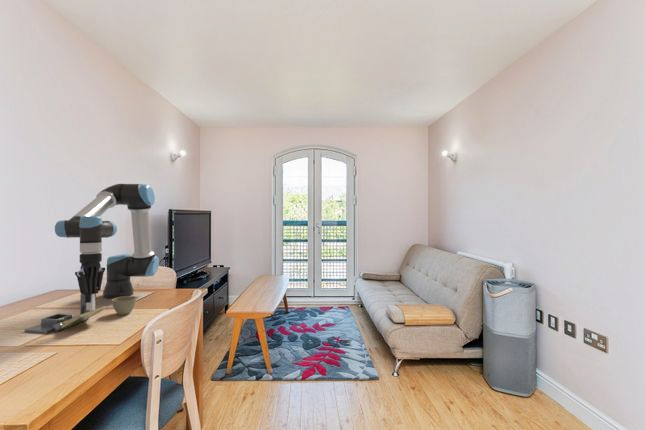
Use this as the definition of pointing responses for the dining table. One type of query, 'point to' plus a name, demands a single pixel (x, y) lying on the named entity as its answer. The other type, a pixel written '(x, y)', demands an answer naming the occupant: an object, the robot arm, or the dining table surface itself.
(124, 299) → the flower pot
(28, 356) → the dining table surface
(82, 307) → the pin
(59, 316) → the hinge base
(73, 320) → the brass leaf
